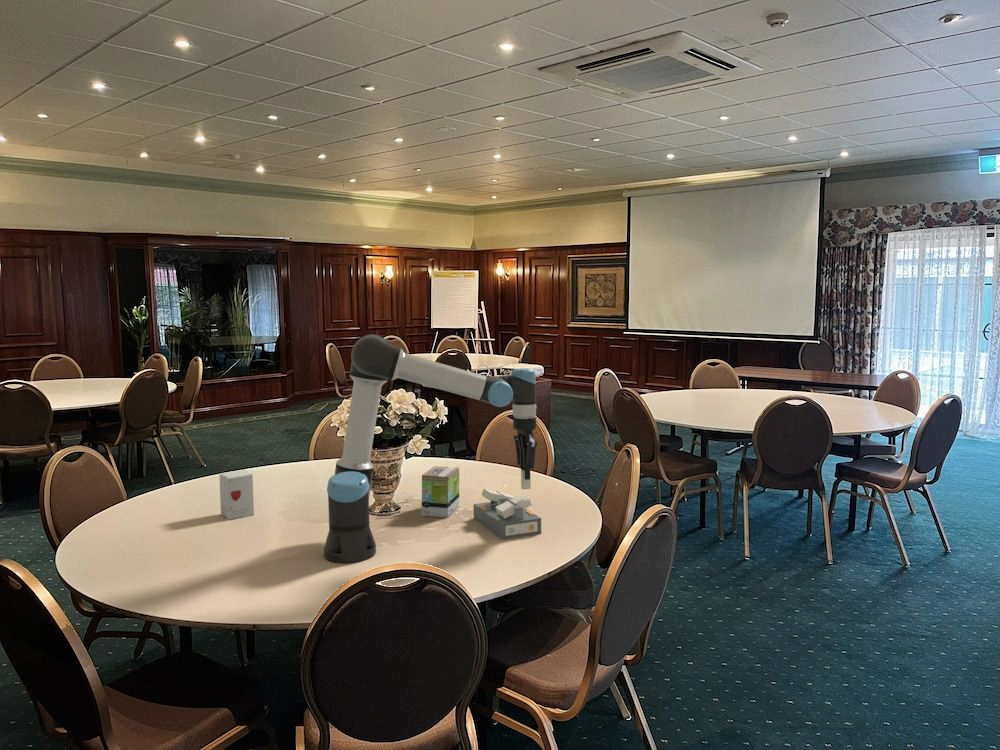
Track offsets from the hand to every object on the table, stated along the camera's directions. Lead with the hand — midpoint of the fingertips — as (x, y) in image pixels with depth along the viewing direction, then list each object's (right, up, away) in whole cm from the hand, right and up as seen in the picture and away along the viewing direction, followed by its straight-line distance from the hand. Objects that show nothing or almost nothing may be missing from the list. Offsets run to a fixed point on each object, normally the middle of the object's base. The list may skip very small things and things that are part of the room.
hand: (525, 488), depth 225 cm
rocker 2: (-4, -7, -1) cm, 8 cm away
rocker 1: (-9, -6, +10) cm, 15 cm away
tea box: (-29, -12, +23) cm, 39 cm away
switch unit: (-6, -13, +5) cm, 16 cm away
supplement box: (-101, -13, +20) cm, 104 cm away
